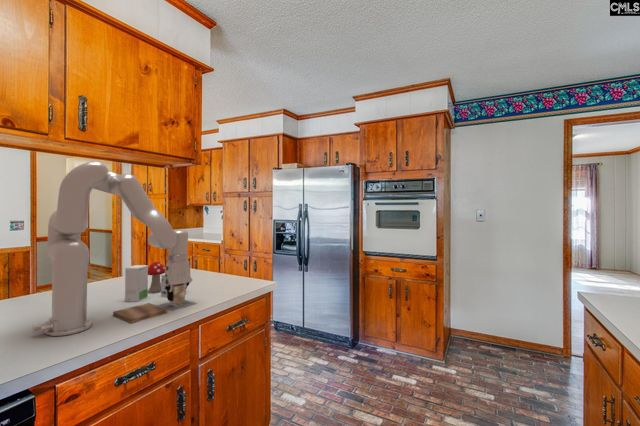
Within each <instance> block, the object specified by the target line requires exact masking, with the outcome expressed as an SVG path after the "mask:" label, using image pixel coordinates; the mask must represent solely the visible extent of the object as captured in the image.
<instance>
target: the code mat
mask: <svg viewBox="0 0 640 426" xmlns="http://www.w3.org/2000/svg"><path fill="white" fill-rule="evenodd" d="M194 305H198V303H196V302H194V301H190V300H186V299H185V300H184V301H180V302H175V303H173V302H170V301H168V302H165V303H160V304H157V306H158V307H161V308H164V309H167V310H169V311H173V312H174V311H176V310H181V309H183V308H184V309H185V308H188V307H191V306H194Z"/></svg>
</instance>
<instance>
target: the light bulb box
mask: <svg viewBox="0 0 640 426" xmlns="http://www.w3.org/2000/svg"><path fill="white" fill-rule="evenodd" d="M164 277H165V273H163V274H161V279H160V282H161V283H162V281H163V280H164ZM167 285H168V284H166V286H167ZM160 293H161V295H160V296H161V297H162V298H167V291H166V289H164V288H163V287H162V286H161V291H160ZM186 293H187V291H186V292H185V294H186Z"/></svg>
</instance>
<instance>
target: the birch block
mask: <svg viewBox="0 0 640 426" xmlns="http://www.w3.org/2000/svg"><path fill="white" fill-rule="evenodd" d="M172 292H173V301H170V300H168V299H167V301H168V302H173V303H175V302H180V301H184V300H186V293H185V284H178V285H174V286H173V290H172Z"/></svg>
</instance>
